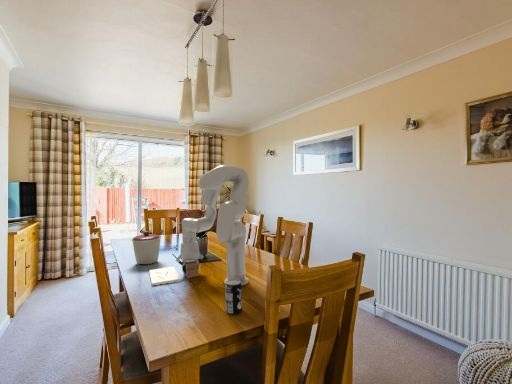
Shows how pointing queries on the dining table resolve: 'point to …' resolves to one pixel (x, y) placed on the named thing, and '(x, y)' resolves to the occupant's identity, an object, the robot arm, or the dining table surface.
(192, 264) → the block
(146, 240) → the canister
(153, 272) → the board
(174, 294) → the dining table surface
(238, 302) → the beverage can
